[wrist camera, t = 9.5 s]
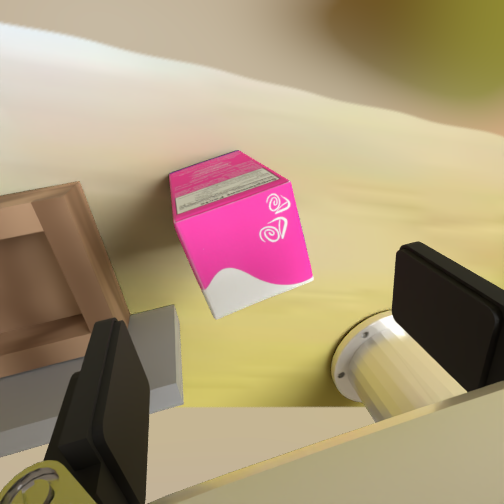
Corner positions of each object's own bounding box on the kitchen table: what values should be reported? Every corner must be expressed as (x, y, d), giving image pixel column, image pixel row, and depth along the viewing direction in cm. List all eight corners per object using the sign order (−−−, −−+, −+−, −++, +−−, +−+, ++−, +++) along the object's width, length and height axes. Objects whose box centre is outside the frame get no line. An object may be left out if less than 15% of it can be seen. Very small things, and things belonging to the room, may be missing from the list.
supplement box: (261, 215, 27) (317, 285, 17) (193, 240, 27) (209, 326, 17) (241, 146, 25) (293, 180, 14) (166, 172, 24) (164, 225, 14)
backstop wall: (174, 304, 29) (176, 382, 21) (179, 322, 30) (183, 404, 22) (-24, 353, 26) (-107, 461, 19) (-12, 370, 27) (-86, 482, 19)
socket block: (79, 181, 23) (63, 196, 19) (130, 314, 28) (124, 345, 24) (-108, 215, 21) (-164, 239, 18) (-17, 350, 26) (-46, 389, 23)
